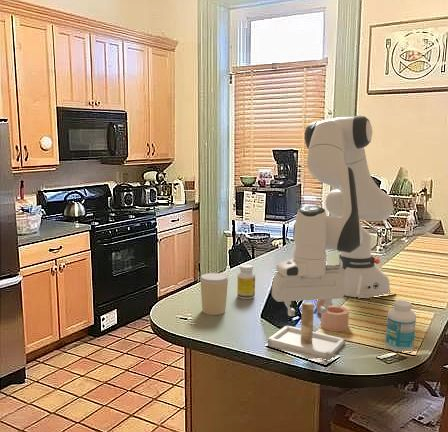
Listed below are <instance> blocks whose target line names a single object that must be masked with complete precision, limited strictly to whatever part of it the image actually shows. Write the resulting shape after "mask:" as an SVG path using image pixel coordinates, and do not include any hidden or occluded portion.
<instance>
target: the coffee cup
mask: <svg viewBox="0 0 448 432" xmlns="http://www.w3.org/2000/svg"><path fill="white" fill-rule="evenodd" d="M199 281H200V295H201V307H202V308H201V309H202V313H203V314H206V315H211V316H217V315H222V314H224V313H226V308H227V306H226V305H227V299H228V298H227V295H228V281H229V277H228V275H227V274H225V273H221V272H220V273H219V272H208V273H203V274H202V275H200V278H199Z"/></svg>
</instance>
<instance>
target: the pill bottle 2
mask: <svg viewBox="0 0 448 432" xmlns="http://www.w3.org/2000/svg"><path fill="white" fill-rule="evenodd" d="M392 306H393V308H390V309H389V310H388V311H387V317H386V329H385V331H386V333H385V334H386V335H385V347H386V348H388V349H389V350H391V351H393V352H397V351H399V352H402V351H403V352H404V351H411V350H413V351H414V349H413V348H414V346H415V336H416V335H415V334H416V323H417V315H416V313H415V312H414V311H413V310H412V309H413V308H412V303H411V302H410V301H408V300H401V299H400V300H398V299H397V300H394V301H393V305H392Z"/></svg>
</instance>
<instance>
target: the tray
mask: <svg viewBox="0 0 448 432" xmlns="http://www.w3.org/2000/svg"><path fill="white" fill-rule="evenodd" d="M345 343H346V339H345V338H342V337H339V336H335V335H330V334H325V333H322V332H316V331H313V335H312V344H303V343H301V327H296V326H295V327H294V326H292V325H287V324H286V325H284V326H283V327H282V328H280V329H279V330H278V331H277V332H275V333H274V334H273V335H271V336H270V337H268V338H267V346H268V347H270V348H273V347H276V348H275V349H277V348H280V349H279V350H281V349H284V350H283V351H285V350H286V349H288V350H292V351H294V352H298V353H299V352H300V353H302V354H307V355H310V356H314V357H317V358H322V359H326V360H330V359H331V358H332V357H333V356H335V354H336V353H337V352H338V351H339V350H340V349H341V348H342V347H343V346H344V345H345ZM333 358H334V357H333Z"/></svg>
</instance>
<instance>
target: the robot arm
mask: <svg viewBox="0 0 448 432" xmlns="http://www.w3.org/2000/svg"><path fill="white" fill-rule="evenodd" d="M372 137H373V127H372V124H371V122H370V119H368V117H366V116H363V115H355V116H339V117H334V118H330V119H324V120H320V121H319V120H316V121H313V122H310V123H309V124H308V125H307V127H305V130H304V142H305V145H306V148H307V149H308V150H307V160H306V167H307V170H308V171H309V173H310V175H311V177H314V179H315V180H317V181H318V182H320V183H323V184H324V185H327V186H330V187H332V188H335V189H332V190H330V192H329V193H328V194H327V195H326V198H325V207H326V209H325V208H323V207H320V206H318V205H307V206H302V207H300V208H298V210H297V213H296V216H295V223H294V224H293V233H292V234H293V235H292V236H293V237H292V238H293V241H294V245H295V247H294V251H293V257H291V258H289V259H286V260H284V261H280V262H278V263H276V265H275V269H276V271H277V272H276V273H275V274H274V276H273V279H272V284H271V285H272V286H271V297H272V298H273V299H274V301H276V302H283V303H284V305H285V306H286V308H287V315H288V316H289V317H294V316H295V315H296V310H295V308H293V307H291V306H292V302H295V301H299V302H300V301H315V300H317V301H318V300H320V299H324V300H325V301H326V302H325V303H324V305H323V306H321V307H320V309H321V310H320V313H321V314H327V308H328V307H329V306H330V304H331V303H332V301H333V300H337V299H340V300H341V299H343V298H344V296H347V297H352V298H356V297H358V298H357V299H360V298H369V297H374V296H379V295H384V294H391V293H390V292H391V291H390V287H391V286H390V280H389V278H388V276H387V274H385V272H383V271H382V270H381V269H379V268H378V267H377V266H375V264H376V265H379V264H380V263H381V259H380V258H378V257H373V256H372V241H373V238H372V236H371V235H372V234H371V233H370V232H369V231H368V230H366V229H365V228H364V227H363V226H362V223H361V221H369V222H380V221H382V222H383V221H386V220H388V219H389V218H390V216H391V215H392V213H393V210H394V202H393V199H392V197H391V196H390V195H389V194H388V193H386V192H385V191H384V190H382V189H381V188H380V187H379V186H378V184H376V182H375V180H374V179H373V177H372V176H371V174H370V170H369V166H368V161H367V156H366V150H365V149H366V147H367V146H369V144H370V143H371V141H372ZM326 210H327V212H328V213H329V215H327V213H326ZM326 250H330V251H337V252H340V253H339V254H338V256H339V257H338V264H335V265H333V264H332V265H330V264H329V265H327V252H326ZM388 292H389V293H388ZM383 293H384V294H383ZM332 304H333V303H332ZM290 305H291V306H290Z"/></svg>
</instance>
